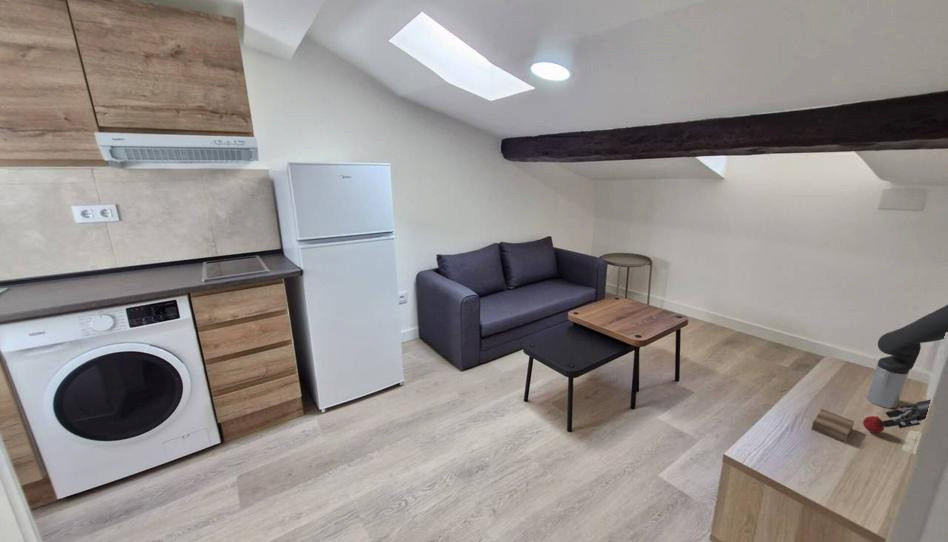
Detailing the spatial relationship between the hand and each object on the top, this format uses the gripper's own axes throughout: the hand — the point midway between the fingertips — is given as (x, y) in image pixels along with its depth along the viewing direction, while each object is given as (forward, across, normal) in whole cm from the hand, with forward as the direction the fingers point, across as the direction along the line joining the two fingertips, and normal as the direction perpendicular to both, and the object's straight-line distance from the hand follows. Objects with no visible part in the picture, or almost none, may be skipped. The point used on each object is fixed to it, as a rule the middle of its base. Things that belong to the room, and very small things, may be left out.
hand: (885, 419), depth 146 cm
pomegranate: (+7, 0, +4) cm, 8 cm away
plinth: (+14, +10, -3) cm, 18 cm away
